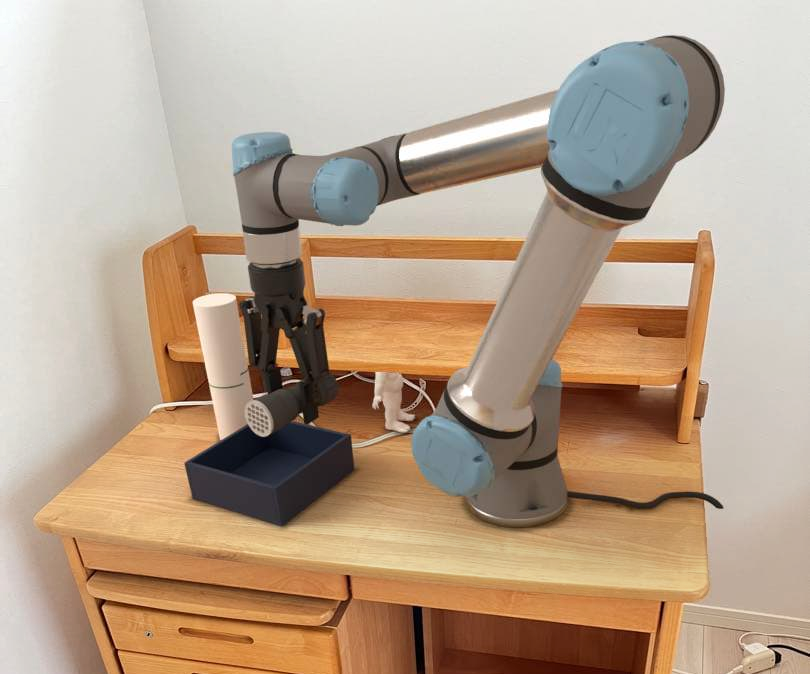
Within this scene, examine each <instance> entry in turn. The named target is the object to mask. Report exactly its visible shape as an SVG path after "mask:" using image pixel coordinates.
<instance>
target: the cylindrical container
mask: <svg viewBox="0 0 810 674" xmlns="http://www.w3.org/2000/svg"><path fill="white" fill-rule="evenodd" d="M192 308H193V313H194V317H195V321H196V327H197V331H198V332H197V333H198V336H199V341H200V346H201V347H200V348H201V351H202V356H203V361H204V367H205V370H206V371H205V372H206V377H207V380H208V386H209V392H210V397H211V400H212V407H213V411H214V416H215V422H216V426H217V432H218V436H219V441H221V440H222V439H224V438H226V437H227V436H229V435H231V434H232V433H234V432H235V431H237V430H239V429H240V428H242V427H244V426H245V425H247V424H248V423H247V421H246V418H245V406H246V404H247V403H248V402H250V401H252V400H254V395H253V389H252V384H251V383H252V382H251V377H250V372H249V366H248V365H249V364H248V359H247V353H246V349H245V343H244V337H243V330H242V325H241V319H240V314H239V308H238V301H237V296H236V295H235V294H232V293H228V292H227V293H225V292H219V293H218V292H217V293H210V294H205V295H202V296H198V297H197V298H195V299H193V300H192Z"/></svg>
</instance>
